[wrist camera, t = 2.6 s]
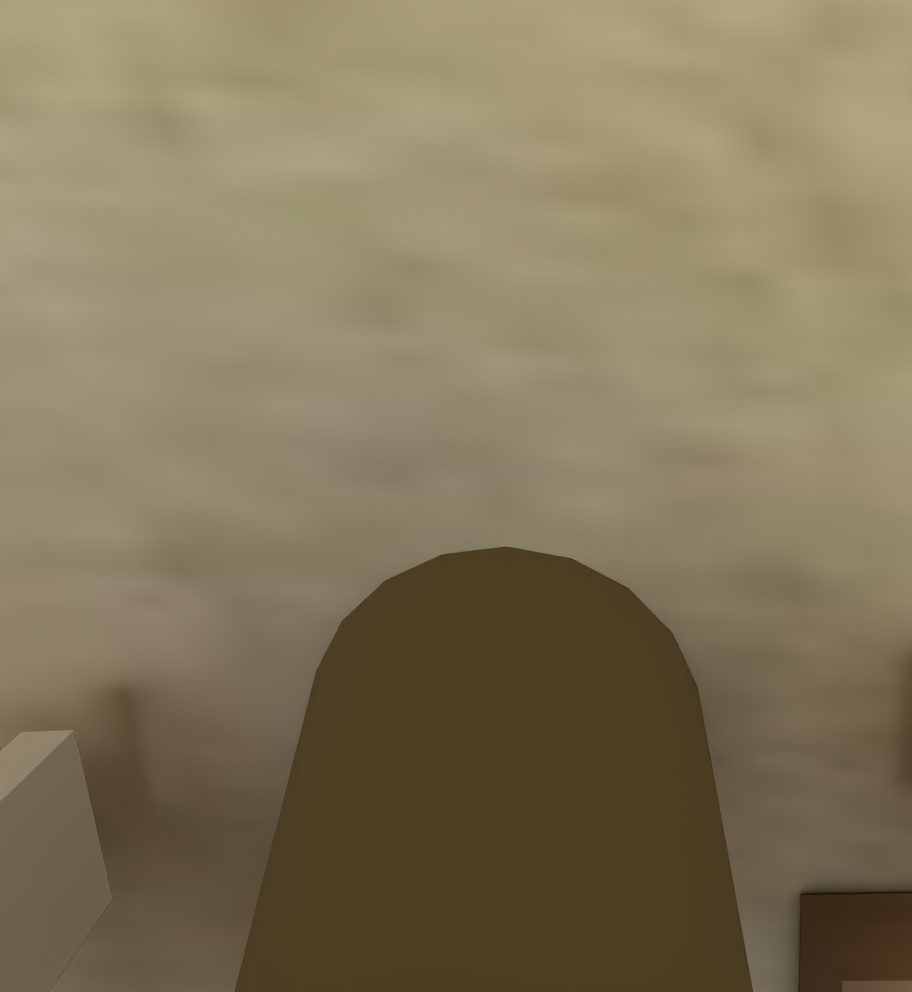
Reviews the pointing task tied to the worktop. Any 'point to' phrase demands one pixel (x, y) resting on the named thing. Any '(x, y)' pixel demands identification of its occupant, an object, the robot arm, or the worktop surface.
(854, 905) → the walnut board
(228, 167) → the worktop surface
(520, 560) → the cork
